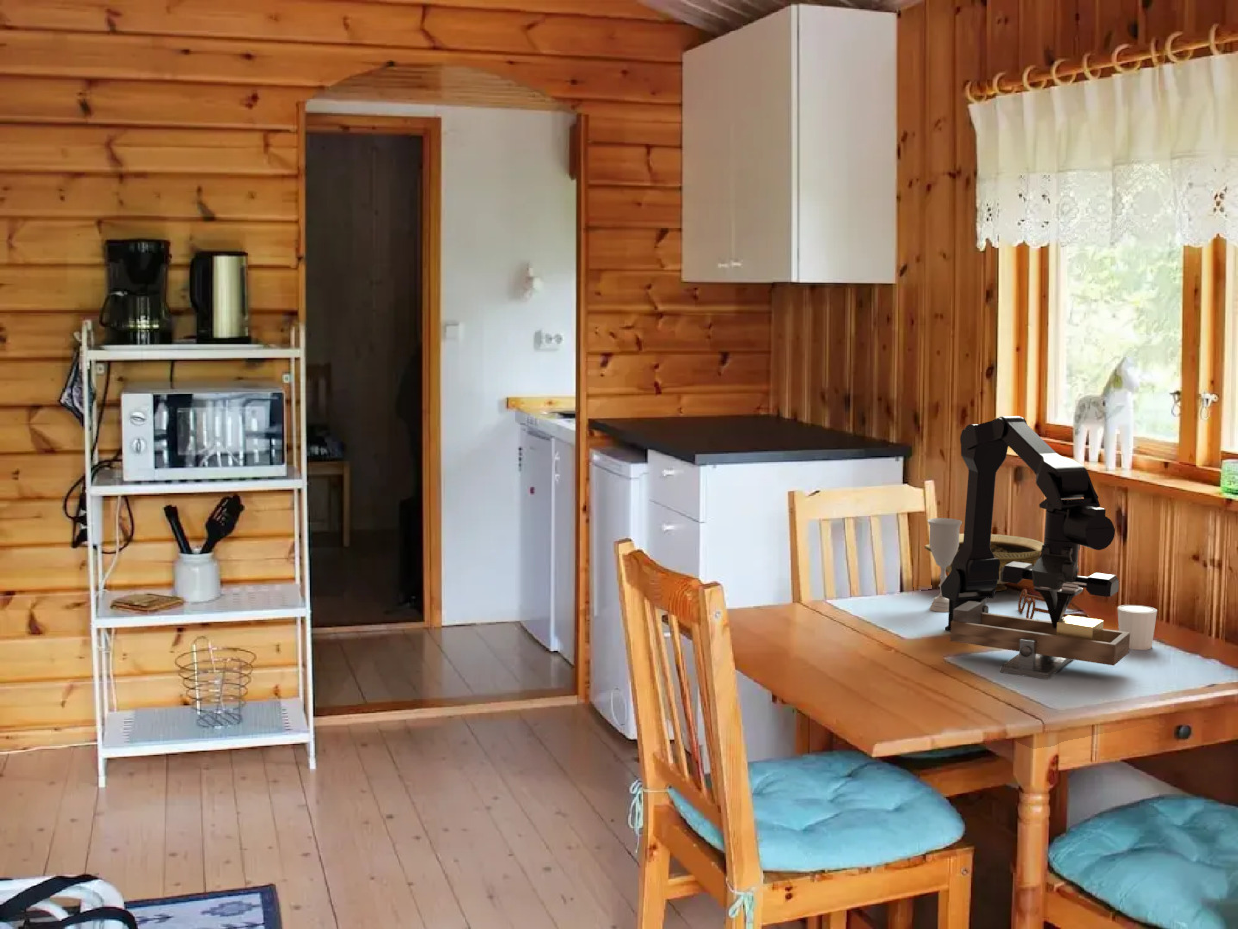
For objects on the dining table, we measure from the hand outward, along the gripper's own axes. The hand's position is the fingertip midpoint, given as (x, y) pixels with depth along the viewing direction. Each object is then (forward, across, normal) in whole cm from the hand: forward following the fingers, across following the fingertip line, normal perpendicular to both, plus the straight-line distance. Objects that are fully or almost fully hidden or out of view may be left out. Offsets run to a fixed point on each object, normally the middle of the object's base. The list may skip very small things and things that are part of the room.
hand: (1055, 627), depth 251 cm
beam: (+3, -3, 0) cm, 4 cm away
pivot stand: (+7, -3, 0) cm, 7 cm away
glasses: (+8, -10, +38) cm, 40 cm away
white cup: (+7, +8, +23) cm, 25 cm away
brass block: (+2, +4, 0) cm, 5 cm away
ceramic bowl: (+8, -31, +57) cm, 65 cm away
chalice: (+8, -32, +32) cm, 46 cm away
